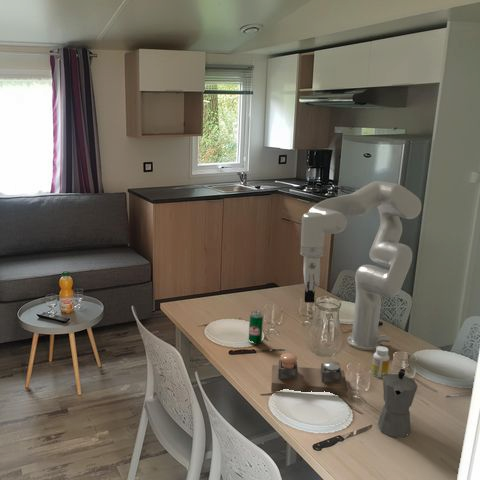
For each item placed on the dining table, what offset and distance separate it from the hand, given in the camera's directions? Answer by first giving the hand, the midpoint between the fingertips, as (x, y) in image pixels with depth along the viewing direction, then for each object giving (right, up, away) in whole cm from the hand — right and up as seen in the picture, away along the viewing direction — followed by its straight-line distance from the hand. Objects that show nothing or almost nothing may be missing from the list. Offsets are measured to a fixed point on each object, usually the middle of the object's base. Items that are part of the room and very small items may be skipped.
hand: (309, 301), depth 182 cm
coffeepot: (+21, -34, -26) cm, 48 cm away
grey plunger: (+6, -24, -7) cm, 26 cm away
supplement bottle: (+25, -26, +3) cm, 36 cm away
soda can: (-18, -19, +24) cm, 35 cm away
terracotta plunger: (-8, -22, -6) cm, 24 cm away
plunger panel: (-1, -27, -6) cm, 27 cm away
